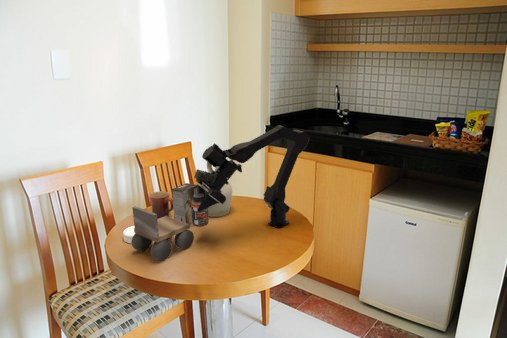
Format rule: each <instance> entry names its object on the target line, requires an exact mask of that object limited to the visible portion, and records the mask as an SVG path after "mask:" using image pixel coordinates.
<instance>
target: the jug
mask: <svg viewBox="0 0 507 338" xmlns="http://www.w3.org/2000/svg"><path fill="white" fill-rule="evenodd" d="M218 168H219V167H218V166H217V167H214V169H213V166H212V165H211V164H210V163H208V162H207V161H206V169H207V172H209V173H211V172H212V171H216V170H217V169H218ZM227 182H229V183H228V185H227V184H225V185H224V186H223V187H222V189H221V191H222V192H221V193H222V194H223V195H224V196H226V201H225V202H224V204H221V203H220V202H219V201H218V202H219V204H218V203H217V204H215V205H212V206H210V207H208V218H221V217H223V216H226V215H228V214H229V212H230V209H231V203H232V197H233V189H232V188H233V187H232V185H231V183H230V181H229V180H228V181H227ZM197 184H198V185H199V183H197Z"/></svg>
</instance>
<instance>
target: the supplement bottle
mask: <svg viewBox="0 0 507 338" xmlns="http://www.w3.org/2000/svg"><path fill="white" fill-rule="evenodd" d="M204 198H205V196H204V194H195V195H194V196H193V199H194V200H193V201H192V202H191V209H192V222H193V226H194V227H197V228H198V227H199V228H201V227H206V226H207V225H209V217H208V208H206V209H204V210H202V211H200V212H199V211H198V208H199V206H200V204H201V203H202V201H203V200H204Z"/></svg>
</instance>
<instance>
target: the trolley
mask: <svg viewBox="0 0 507 338" xmlns="http://www.w3.org/2000/svg"><path fill="white" fill-rule="evenodd" d="M131 208H132V215H133V216H132V217H133V224H134V225H133V226H135V228H134V233H135V234H134V236H133V238H132V242H131V243H130V244H131V247H132V248H133V249H134V250H136V251H138V252H145V251H147V250H149V249H150V256H151V257H152V258H153V259H155V260H157V261H159V262H163V261H167V259H168V258H169V257H170V256H171V255H172V250H173V246H172V243H171V242H170V241H169V240H171V239H172V237H173V236H174V239H173V242H174V245H175V247H176V248H178V249H181V250H184V251H185V250H188V249H190V247H191V246H192V245H193V243H194V240H195V235H194V232H193V231H192V230H189V229H191V227H190V226H189V224H187V223H185V222H182V221H179V220H176V219H174V217H171V216H169V217H168V216H164V217H162V218H159V219H157V214H155V213H152V211H150V210H147V209H143V208H141V207H139V206H132V207H131Z"/></svg>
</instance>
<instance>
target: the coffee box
mask: <svg viewBox="0 0 507 338" xmlns="http://www.w3.org/2000/svg"><path fill="white" fill-rule="evenodd" d="M197 192H198V186H197V184H194V183H187V182H186V183H183V184H180V185H179V186H176V187H174V188H172V189H171V195H172V198H171V199H173V216H174V217H173V218H174V219H176V220H179V221H182V222H185V223H187V224H189V226H190V228H191V227H193V226H194V225H193V222H192V209H191V202H192V201H193V200H194V199H193V196H194V195H195V194H197Z"/></svg>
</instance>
